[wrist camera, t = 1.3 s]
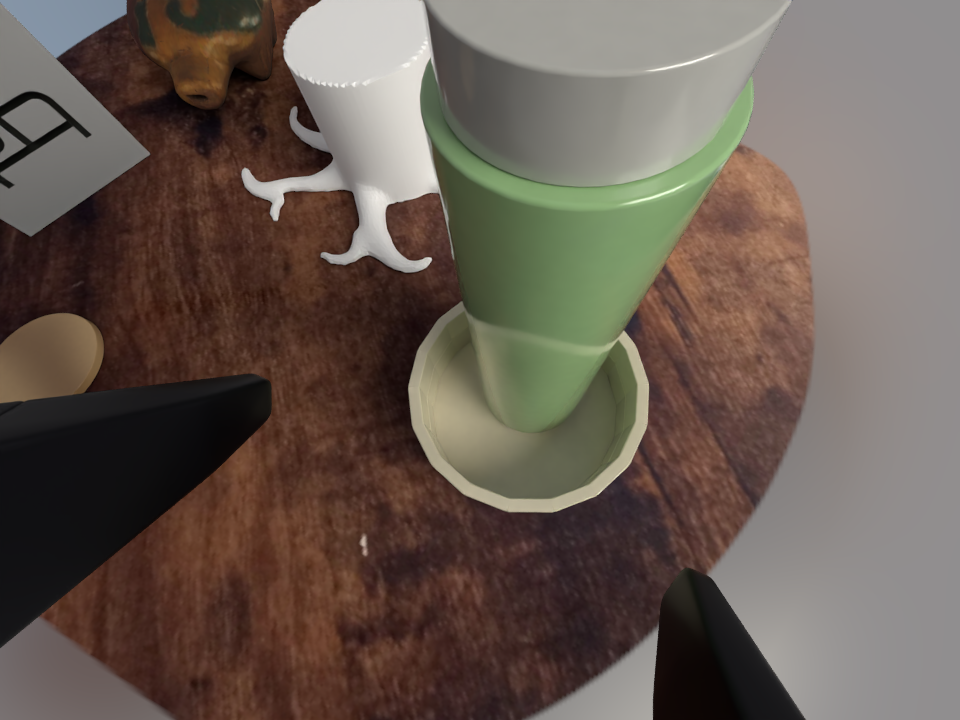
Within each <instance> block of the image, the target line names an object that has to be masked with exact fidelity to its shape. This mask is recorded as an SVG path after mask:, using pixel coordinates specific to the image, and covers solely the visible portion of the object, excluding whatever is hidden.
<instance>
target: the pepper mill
mask: <svg viewBox="0 0 960 720" xmlns="http://www.w3.org/2000/svg"><path fill="white" fill-rule="evenodd" d="M792 1H793V0H421V4H422V10H423V16H424V22H425V27H426V33H427V39H428V45H429V51H430V56H431V57H430V59H429V61H428V63H427V65H426V68H425V71H424V74H423V77H422V82H421V89H420V97H419V98H420V112H421V117H422V121H423V126H424V130H425V135H426V139H427V144H428V148H429V153H430V157H431V162H432V167H433V171H434V176H435V180H436V185H437V189H438V194H439V198H440V203H441V207H442V212H443V216H444V221H445V225H446V230H447V234H448V239H449V243H450V248H451V252H452V257H453V261H454V266H455V270H456V275H457V279H458V284H459V288H460V293H461V297H462V302H463V306H464V311H465V315H466V320H467V324H468V329H469V333H470V338H471V342H472V347H473V351H474V356H475V360H476V365H477V370H478V374H479V379H480V383H481V388H482V392H483V396H484V400H485V402H486V405H487V407H488V408H489V410H490V412H491V413H492V414H493V416H494V417H495V418H496V419H497V420H499V421H500V422H501V423H502V424H504V425H505V426H507V427H509V428H511V429H514V430H516V431H520V432H525V433H541V432H545V431H549V430H551V429H554V428H556V427H558V426H559V425H561V424H562V423H563V422H565V421H566V420H567V419H568V418H569V417H570V416H571V414H572V413H573V412H574V410H575V408H576V407H577V405H578V404H579V402H580V400H581V399H582V397H583V396H584V394H585V392H586V391H587V389H588V387H589V386H590V384H591V383H592V381H593V379H594V378H595V376H596V375H597V373H598V371H599V370H600V368H601V366H602V365H603V363H604V362H605V360H606V358H607V357H608V355H609V354H610V352H611V350H612V349H613V347H614V345H615V344H616V342H617V341H618V339H619V337H620V336H621V334H622V333H623V331H624V329H625V328H626V326H627V324H628V323H629V321H630V320H631V318H632V316H633V315H634V313H635V312H636V310H637V308H638V307H639V305H640V303H641V302H642V300H643V299H644V297H645V295H646V294H647V292H648V290H649V289H650V287H651V286H652V284H653V282H654V281H655V279H656V278H657V276H658V274H659V273H660V271H661V269H662V268H663V266H664V265H665V263H666V261H667V260H668V258H669V257H670V255H671V253H672V252H673V250H674V248H675V247H676V245H677V244H678V242H679V240H680V239H681V237H682V236H683V234H684V232H685V231H686V229H687V227H688V226H689V224H690V223H691V221H692V219H693V218H694V216H695V215H696V213H697V211H698V210H699V208H700V206H701V205H702V203H703V202H704V200H705V198H706V197H707V195H708V194H709V192H710V190H711V189H712V187H713V185H714V184H715V182H716V181H717V179H718V177H719V176H720V174H721V173H722V171H723V169H724V168H725V166H726V164H727V163H728V161H729V160H730V158H731V156H732V155H733V153H734V152H735V150H736V148H737V147H738V145H739V143H740V141H741V140H742V138H743V136H744V134H745V132H746V130H747V128H748V125H749V121H750V118H751V115H752V109H753V98H754V89H753V80H752V73H753V71H754V70H755V68H756V66H757V64H758V63H759V61H760V59H761V57H762V55H763V53H764V52H765V49H766V48H767V46H768V44H769V42H770V41H771V39H772V37H773V35H774V33H775V31H776V30H777V28H778V26H779V24H780V22H781V20H782V19H783V17H784V15H785V13H786V12H787V10H788V8H789V6H790V4H791V3H792Z"/></svg>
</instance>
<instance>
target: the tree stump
mask: <svg viewBox="0 0 960 720" xmlns="http://www.w3.org/2000/svg"><path fill="white" fill-rule="evenodd" d="M283 50H284V58H285V61H286V63H287V65H288V67H289V69H290V71H291V73H292V75H293V77H294V79H295V81H296V83H297V85H298V87H299V89H300V91H301V93H302V95H303V97H304V99H305V101H306V103H307V105H308V107H309V109H310V111H311V113H312V115H313V117H314V119H315V122H316V124H317V126H318V128H319V130H320V132H321V133H319V132H314V131H311V130H308V129H306V128H304V127H303V126H302V125H301V124H300V123H299V122H298V121H297V113H298V110H297V107H296V106H295V107H293V108H292V109H291V112H290V116H289V119H290V126H291V128H292V130H293V131H294V133H295V134H296V135H298V136H299V137H300V139H301V140H303V141H304V142H306V143H307V144H309V145H311V146H312V147H313V148H317V149H319V150H322V151H325V152H329V153H331V154H332V156H333V160H332V162H331V164H330V165H329V166H327V167H326V168H325V169H323V170H322V171H320V172H318V173H316V174H314V175H311V176H305V177H293V178H286V179H281V180H276V181H272V182H264V183H263V182H259V181H257V180H256V179H255V178H254V177H253V175H252V174H251V173H250V171H249V170H248V169H246V168H244V169H243V170H242V179H243V183H244V185H245V187H246V188H247V190H248V191H249V192H250V193H252V194H253V195H255V196H257V197H260V198H263V199H266V200H269V201H271V202H272V206H271V210H270V215H271V216H272V218H273V220H274V221H278V216H279V211H280V208H281V207H282V205H283V204H284V196H283V194H284V193H285V192H289V191H297V192H298V191H310V192H313V191H315V192H319V191H326V192H329V191H336V190H348V191H352V192H353V194H354V198H355V202H356V206H357V210H358V215H359V227H358V229H357V230H356V231H355V232H354V235H353V241H352V245H351V247H350V249H349V251H348V252H346V253H344V254H341V255H332V254H329V253H326V252H322V253H321V258H324V259H326V260H327V261H328V262H330V263H331V264H332V263H335V264H342V265H347V264H349V263H352V262H356V261H357V260H358V259H359V258H361V257H363V256H367V255H370V256H373V257H375V258H377V259H378V260H380V261H381V262H383V263H384V264H385V265H387V266H389V267H391V268H393V269H394V270H399V271H402V272H405V273H410V272H417V271H421V270H423V269H425V268H427V267H428V265H429V264H430V263H431V261H432V258H428V257H425V258H424V259H421V260H418V261H410V260H407V259H406V258H405V257H403V256H402V255H401V254H400V253H399V252H398V251H397V250H396V248H395V246H394V245H393V243H392V240H391V237H390V235H389V233H388V230H387V225H386V218H385V212H386V208H387V206H388V205H389V204H393V203H395V202H403V201H405V200H411V199H415V198H418V197H420V196H422V195H424V194H427V193H438V189H437V185H436V180H435V176H434V171H433V167H432V162H431V157H430V153H429V148H428V144H427V139H426V135H425V130H424V126H423V121H422V117H421V112H420V98H419V97H420V89H421V82H422V77H423V74H424V71H425V68H426V65H427V63H428V61H429V59H430V57H431V56H430V51H429V45H428V39H427V33H426V27H425V22H424V16H423V10H422V4H421V1H419V0H322V1H320V2H319V3H317V4H316V5H315V6H313V7H309V8H308V9H307V11H306V12H304V13H302V14H301V16H300V17H299V18H297V19H296V21H295V22H293V25H292V26H290V30H288V32H287V34H286V39H285V40H284V46H283Z"/></svg>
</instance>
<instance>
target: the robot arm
mask: <svg viewBox="0 0 960 720" xmlns="http://www.w3.org/2000/svg"><path fill="white" fill-rule="evenodd" d="M271 409H272V400H271V383H270V381H269V380H267V379H265V378H263V377H261V376H259V375H256V374H242V375H234V376H226V377H217V378H209V379H200V380H192V381H183V382H175V383H166V384H158V385H150V386H141V387H133V388H124V389H116V390H107V391H99V392H91V393H82V394H74V395H65V396H57V397H48V398H40V399H32V400H27V401H25V402H23V401H14V402H5V403H0V648H1V647H2V646H3V645H5V644H6V643H7V642H8V641H9V640H11V639H12V638H13V637H14V636H16V635H17V634H18V633H19V632H20V631H21V630H23V629H24V628H25V627H26V626H28V625H29V624H30V623H31V622H33V621H34V620H35V619H36V618H37V617H39V616H40V615H41V614H42V613H43V612H45V611H46V610H47V609H48V608H50V607H51V606H52V605H53V604H54V603H56V602H57V601H58V600H59V599H61V598H62V597H63V596H64V595H65V594H67V593H68V592H69V591H70V590H71V589H73V588H74V587H75V586H76V585H78V584H79V583H80V582H81V581H82V580H84V579H85V578H86V577H87V576H88V575H90V574H91V573H92V572H93V571H95V570H96V569H97V568H98V567H99V566H101V565H102V564H103V563H104V562H105V561H107V560H108V559H109V558H110V557H112V556H113V555H114V554H115V553H116V552H118V551H119V550H120V549H121V548H123V547H124V546H125V545H126V544H127V543H129V542H130V541H131V540H132V539H133V538H135V537H136V536H137V535H138V534H140V533H141V532H142V531H143V530H144V529H146V528H147V527H148V526H149V525H150V524H152V523H153V522H154V521H155V520H157V519H158V518H159V517H160V516H161V515H163V514H164V513H165V512H166V511H168V510H169V509H170V508H171V507H172V506H174V505H175V504H176V503H177V502H178V501H180V500H181V499H182V498H183V497H185V496H186V495H187V494H188V493H189V492H191V491H192V490H193V489H194V488H195V487H197V486H198V485H199V484H200V483H202V482H203V481H204V480H205V479H206V478H208V477H209V476H210V475H211V474H212V473H213V472H214V471H216V470H217V469H218V468H219V467H220V466H221V465H222V464H223V463H224V462H225V461H226V460H227V459H228V458H229V457H230V456H231V455H232V454H233V453H234V452H235V451H236V450H237V449H238V448H239V447H240V446H241V445H242V444H243V443H244V442H245V441H246V440H247V439H248V438H249V437H251V436H252V435H253V434H254V433H255V432H256V431H257V430H258V429H259V428H260V427H261V426H262V425H263V424H264V423H265V422H266V421H267V419H268V418H269V416H270V414H271ZM653 720H806V719H805V718H804V716H803V715H802V713H801V712H800V710H799V709H798V707H797V706H796V704H795V703H794V701H793V700H792V698H791V697H790V695H789V694H788V692H787V691H786V689H785V688H784V686H783V685H782V683H781V682H780V680H779V679H778V677H777V676H776V674H775V673H774V672H773V670H772V668H771V667H770V665H769V664H768V662H767V661H766V659H765V658H764V656H763V655H762V653H761V652H760V650H759V648H758V647H757V645H756V644H755V643H754V641H753V639H752V638H751V636H750V635H749V634H748V632H747V630H746V629H745V628H744V626H743V625H742V623H741V621H740V620H739V619H738V617H737V615H736V614H735V612H734V611H733V609H732V608H731V606H730V605H729V603H728V602H727V601H726V599H725V597H724V596H723V594H722V593H721V591H720V590H719V588H718V587H717V585H716V584H715V582H714V581H713V580H712V579H711V578H710V577H709V576H707V575H705V574H702V573H700V572H698V571H696V570H693V569H691V568H685V569H683V570H682V571H681V572H680V573H679V575H678V576H677V578H676V579H675V580H674V582H673V583H672V584H671V586H670V587H669V589H668V590H667V591H666V593H665V594H664V596H663V599H662V602H661V608H660V619H659V631H658V643H657V655H656V666H655V678H654V693H653Z"/></svg>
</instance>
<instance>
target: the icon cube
mask: <svg viewBox="0 0 960 720" xmlns="http://www.w3.org/2000/svg"><path fill="white" fill-rule="evenodd" d="M149 155H150V153H149V152H148V151H147V150H146V149H145V148H144V147H143V146H142V145H141V144H140V143H139V142H138V141H137V140H136V139H135V138H134V137H133V136H132V135H131V134H130V133H129V132H128V131H127V130H126V129H125V128H124V127H123V126H122V125H121V124H120V123H119V122H118V121H117V120H116V119H115V118H114V117H113V116H112V115H111V114H110V113H109V112H108V111H107V110H106V109H105V108H104V107H103V106H102V105H101V104H100V103H99V102H98V101H97V100H96V99H95V98H94V97H93V96H92V95H91V94H90V93H89V92H88V91H87V90H86V89H85V88H84V87H83V86H82V85H81V84H80V83H79V82H78V81H77V80H76V79H75V78H74V77H73V76H72V74H71V73H70V72H69V71H68V70H67V69H66V68H65V67H64V66H63V65H62V64H61V63H60V62H59V61H58V60H57V59H56V58H55V57H54V56H52V55H51V54H50V52H49V51H48V50H47V49H46V48H45V47H44V46H43V45H42V44H41V43H40V42H39V41H38V40H36V38H35V37H34V36H33V35H32V34H31V33H30V32H29V31H28V30H27V29H26V28H25V27H24V26H23V25H22V24H21V23H20V22H19V21H17V19H16V18H15V17H14V16H13V15H12V14H11V13H10V12H9V11H8V10H7V9H6V8H5V7H4V6H3V5H2V4H1V3H0V219H1V220H3V221H5V222H7V223H8V224H10V225H12V226H13V227H15V228H17V229H19V230H20V231H22V232H24V233H25V234H27V235H29V236H32V235H34V234H35V233H37V232H38V231H40V230H41V229H43V228H44V227H46V226H47V225H48V224H50V223H51V222H53V221H54V220H56V219H57V218H59V217H60V216H62V215H63V214H64V213H66V212H67V211H69V210H70V209H72V208H73V207H75V206H76V205H78V204H79V203H80V202H82V201H83V200H85V199H86V198H88V197H89V196H91V195H92V194H94V193H95V192H96V191H98V190H99V189H101V188H102V187H104V186H105V185H107V184H108V183H110V182H111V181H112V180H114V179H115V178H117V177H118V176H120V175H121V174H123V173H124V172H126V171H127V170H128V169H130V168H131V167H133V166H134V165H136V164H137V163H139V162H140V161H141V160H143V159H144V158H146V157H147V156H149Z"/></svg>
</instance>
